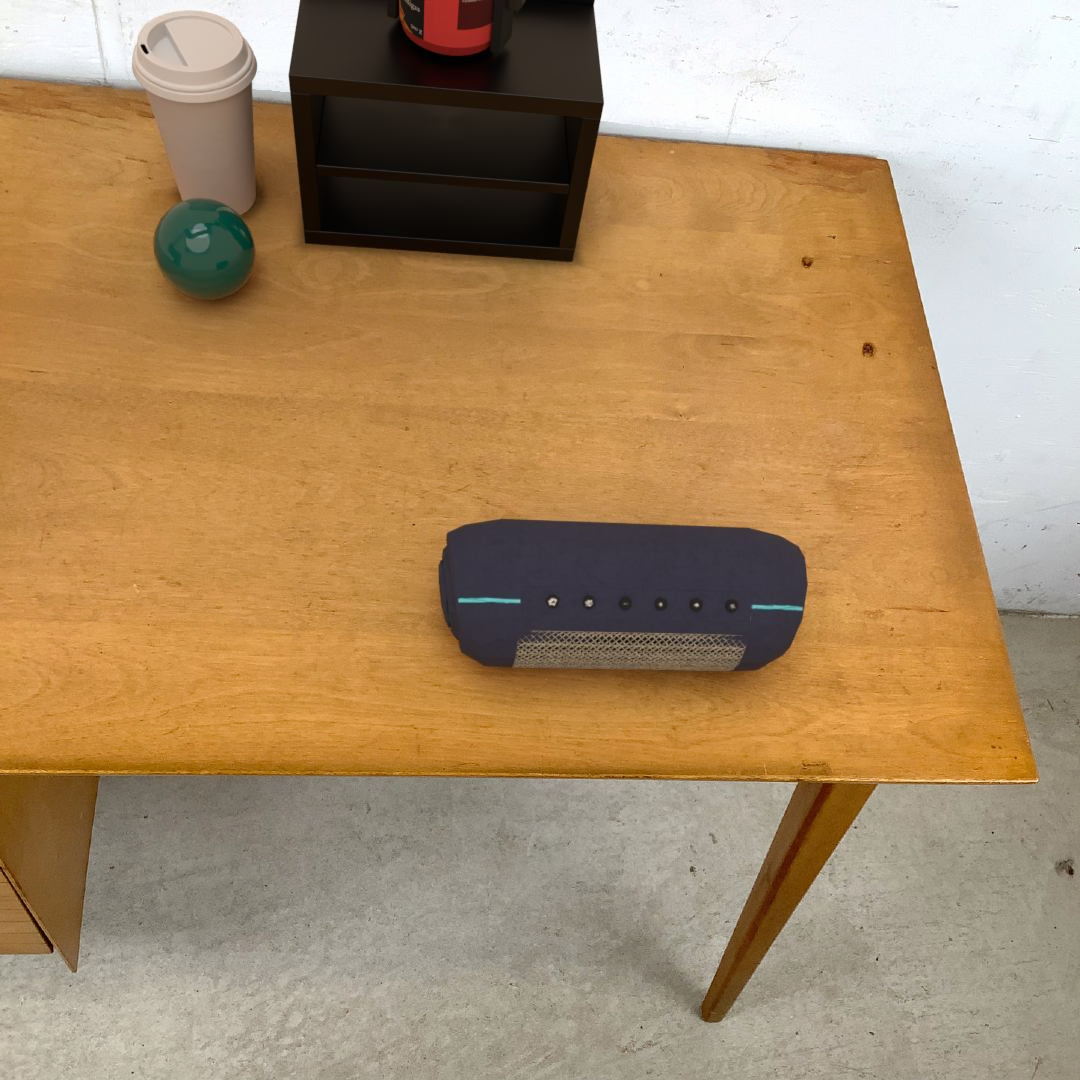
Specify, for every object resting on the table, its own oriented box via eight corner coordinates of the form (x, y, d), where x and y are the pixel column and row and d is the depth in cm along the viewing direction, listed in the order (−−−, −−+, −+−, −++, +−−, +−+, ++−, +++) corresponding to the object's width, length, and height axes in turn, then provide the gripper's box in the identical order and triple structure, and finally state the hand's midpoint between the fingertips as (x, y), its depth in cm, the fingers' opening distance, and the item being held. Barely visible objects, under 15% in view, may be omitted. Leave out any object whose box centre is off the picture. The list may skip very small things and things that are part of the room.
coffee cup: (167, 158, 93) (132, 0, 80) (274, 161, 95) (256, 7, 82) (159, 231, 88) (119, 75, 76) (272, 233, 90) (251, 81, 77)
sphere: (272, 308, 85) (262, 235, 78) (176, 329, 83) (156, 255, 76) (246, 244, 89) (234, 168, 82) (153, 262, 86) (132, 186, 80)
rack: (572, 262, 93) (608, 79, 77) (304, 243, 90) (285, 49, 74) (565, 160, 100) (597, -25, 84) (317, 140, 97) (302, -56, 81)
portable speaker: (434, 690, 69) (439, 625, 61) (436, 563, 74) (441, 487, 66) (786, 694, 72) (838, 633, 64) (765, 573, 77) (811, 501, 69)
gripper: (280, -363, 60) (307, 9, 79) (612, -259, 58) (556, 94, 77) (337, -399, 64) (349, -37, 83) (649, -304, 62) (587, 43, 81)
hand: (449, 26), depth 80 cm, fingers closed on canned food, 8 cm apart
